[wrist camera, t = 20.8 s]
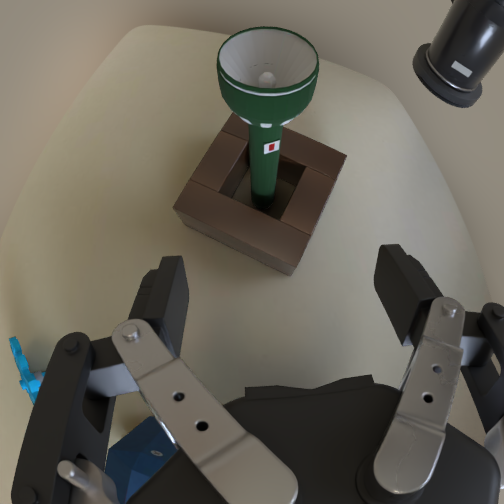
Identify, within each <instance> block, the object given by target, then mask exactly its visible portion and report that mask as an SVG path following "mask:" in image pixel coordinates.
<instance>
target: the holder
mask: <svg viewBox="0 0 504 504" xmlns="http://www.w3.org/2000/svg"><path fill="white" fill-rule="evenodd" d="M346 157H347V155H345V154H343V153H341V152H339V151H337V150H335V149H333V148H330V147H328V146H326V145H324V144H322V143H320V142H317V141H315V140H313V139H311V138H308V137H306V136H304V135H302V134H299V133H297V132H295V131H292V130H290V129H287V128H285V127H283V130H282V138H281V146H280V154H279V162H278V170H277V177H278V178H280V179H282V180H285V181H287V182H289V183H291V184H293V185H296V188H295V190H294V192H293V194H292V196H291V198H290V200H289V202H288V204H287V206H286V208H285V210H284V212H283V214H282V216H281V218H280V220H277V219H275V218H273V217H270V216H268V215H266V214H264V213H262V212H260V211H258V210H256V209H253V208H251V207H249V206H247V205H245V204H243V203H240V202H238V201H236V200H234V199H232V198H231V197H232V195H233V194H234V192H235V190H236V188H237V187H238V185H239V183H240V181H241V179H242V178H243V176H244V174H245V172H246V171H247V169H248V167H249V165H250V151H249V128H248V123H247V122H245V121H244V120H242V119H241V118H240V117H239V116H238V115H236V114H235V113H234V112H233V113H232V114H231V116H230V117H229V119H228V120H227V122H226V123H225V125H224V126H223V128H222V129H221V131H220V132H219V134H218V135H217V137H216V138H215V140H214V141H213V143H212V144H211V146H210V148H209V149H208V151H207V152H206V154H205V155H204V157H203V159H202V160H201V162H200V163H199V165H198V167H197V168H196V170H195V171H194V173H193V175H192V176H191V178H190V180H189V181H188V183H187V184H186V186H185V188H184V189H183V191H182V193H181V194H180V196H179V198H178V199H177V201H176V203H175V204H174V206H173V209H174V210H175V212H176V213H177V214H178V216H179V217H180V219H181V220H182V222H183V223H184V224H185V225H187V226H189V227H191V228H193V229H195V230H197V231H199V232H201V233H203V234H205V235H207V236H209V237H211V238H213V239H215V240H217V241H219V242H221V243H223V244H225V245H227V246H229V247H232V248H234V249H236V250H238V251H240V252H242V253H244V254H246V255H248V256H250V257H252V258H254V259H256V260H258V261H260V262H262V263H264V264H266V265H268V266H270V267H272V268H274V269H276V270H278V271H280V272H283V273H285V274H287V275H289V276H291V274H292V273H293V272H294V270H295V269H296V268H297V266H298V263H299V261H300V259H301V257H302V255H303V253H304V251H305V249H306V247H307V244H308V242H309V240H310V238H311V236H312V234H313V231H314V229H315V227H316V225H317V223H318V221H319V218H320V216H321V214H322V212H323V210H324V207H325V205H326V203H327V201H328V198H329V196H330V194H331V192H332V189H333V187H334V185H335V183H336V180H337V178H338V176H339V174H340V171H341V169H342V167H343V164H344V162H345V160H346Z"/></svg>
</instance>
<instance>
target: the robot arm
mask: <svg viewBox="0 0 504 504" xmlns="http://www.w3.org/2000/svg"><path fill="white" fill-rule="evenodd" d="M451 1H452V6H451V8H450V10H449V12H448V14H447V16H446V18H445V20H444V22H443V23H442V25H441V27H440V29H439V31H438V33H437V35H436V36H435V38H434V40H433V42H432V43H431V45H430V47H429V48H428V49H427V51H426V53H425V60H426V63H427V65H428V67H429V68H430V70H431V71H432V72H433V73H434V74H435V76H436V77H437V78H439V79H440V80H441V81H442V82H443V83H445V84H446V85H447V86H449V87H451V88H452V89H454V90H457V91H459V92H462V93H471V92H473V91H474V90H475V89H476V88H477V86H478V84H479V83H480V82H481V80H482V79H483V78H484V77H485V75H486V74H487V73H488V72H489V70H490V69H491V68H492V67H493V65H494V64H495V63H496V61H497V60H498V59H499V57H500V56H501V55H502V53H503V52H504V0H451ZM374 286H375V290H376V292H377V294H378V296H379V298H380V300H381V302H382V304H383V306H384V308H385V310H386V312H387V314H388V317H389V319H390V321H391V323H392V325H393V327H394V329H395V331H396V334H397V336H398V338H399V340H400V342H401V345H402V346H407V345H413V346H414V350H413V352H412V355H411V357H410V360H409V363H408V365H407V368H406V371H405V373H404V376H403V378H402V381H401V383H400V386H399V388H398V389H396V388H394V387H391V386H388V385H384V384H378V383H374V381H373V377H372V374H371V375H364V376H358V377H351V378H344V379H340V380H337V381H335V382H332V383H329V384H326V385H324V386H321V387H318V388H315V389H302V388H294V387H286V386H278V385H276V386H260V387H245V396H244V397H241V398H238V399H235V400H233V401H231V402H229V403H227V404H225V405H223V406H222V405H221V404H220V403H219V402H218V401H217V399H216V398H215V397H214V396H213V395H212V394H211V393H210V392H209V390H208V389H207V388H206V387H205V386H204V385H203V384H202V382H201V381H200V380H199V379H198V378H197V377H196V375H195V374H194V373H193V372H192V371H191V369H190V368H189V367H188V366H187V365H186V364H185V362H184V361H183V360H182V359H181V358H180V350H181V344H182V338H183V332H184V326H185V320H186V315H187V309H188V303H189V288H188V283H187V278H186V273H185V268H184V263H183V258H182V256H166V257H162V260H161V262H160V265H159V268H158V269H154V270H150V271H149V272H148V273H147V274H146V275H145V276H144V277H143V279H142V282H141V285H140V288H139V290H138V292H137V296H136V298H135V301H134V303H133V306H132V309H131V312H130V314H129V317H128V320H126V321H124V322H122V323H120V324H119V325H118V326H117V327H116V328H115V329H114V331H113V333H112V336H110V337H107V338H103V339H99V340H95V341H90V339H89V337H88V336H87V335H86V334H84V333H81V332H74V333H70V334H67V335H66V336H64V337H63V338H61V339H60V340H59V342H58V343H57V345H56V347H55V349H54V352H53V354H52V357H51V359H50V362H49V364H48V367H47V370H46V372H45V375H44V378H43V381H42V383H41V386H40V389H39V392H38V395H37V398H36V401H35V404H34V407H33V410H32V413H31V416H30V419H29V423H28V426H27V429H26V433H25V436H24V440H23V444H22V447H21V451H20V455H19V459H18V463H17V467H16V472H15V476H14V481H13V486H12V491H11V500H12V504H120V503H119V501H118V498H117V489H116V485H115V483H114V481H113V480H112V479H111V478H110V477H109V476H108V475H107V474H105V473H104V469H105V462H106V455H107V448H108V441H109V435H110V429H111V423H112V417H113V412H114V406H115V401H116V396H117V395H121V394H125V393H130V392H134V391H138V392H139V394H140V395H141V397H142V398H143V400H144V401H145V403H146V405H147V406H148V408H149V409H150V411H151V412H152V414H153V415H154V417H155V418H156V420H157V421H158V423H159V424H160V426H161V427H162V429H163V430H164V432H165V433H166V435H167V436H168V438H169V439H170V441H171V442H172V443H173V445H174V446H175V448H176V449H177V450H178V451H177V452H176V453H175V454H174V455H173V456H172V457H171V458H170V459H169V460H168V461H167V462H166V463H165V464H164V465H163V466H162V467H161V468H160V469H159V470H158V471H157V472H156V473H155V474H154V475H153V476H152V477H151V478H150V479H149V480H148V481H147V482H145V483H144V484H143V485H142V486H141V487H140V488H139V489H138V490H137V491H136V492H135V493H134V494H133V495H132V496H131V497H130V498H129V499H128V501H127V502H126V504H498V499H499V492H500V489H502V488H504V307H503V306H501V305H500V304H497V303H487V304H485V305H484V306H483V308H482V311H481V313H477V312H468V311H465V310H464V307H463V306H462V305H461V304H460V303H459V302H458V301H456V300H455V299H452V298H449V297H444V296H443V295H442V293H441V292H440V290H439V289H438V287H437V286H436V284H435V283H434V282H433V280H432V279H431V277H429V275H428V273H427V272H426V271H425V269H424V268H423V266H422V265H421V263H420V262H419V261H418V260H416V259H415V258H413V257H412V256H411V255H407V254H406V253H405V252H404V250H403V249H402V247H401V246H400V245H399V244H388V245H381V246H380V248H379V253H378V258H377V263H376V269H375V274H374ZM493 353H494V354H495V355H496V357H497V359H498V361H499V363H500V366H501V374H500V376H499V374H498V372H497V370H496V368H495V366H494V364H493V362H492V360H491V357H492V355H493ZM460 370H461V372H462V374H463V376H464V379H465V381H466V383H467V386H468V388H469V391H470V393H471V396H472V398H473V400H474V403H475V406H476V408H477V411H478V413H479V416H480V419H481V421H482V424H483V427H484V430H485V432H486V437H485V441H484V447H485V448H484V447H483V446H481V445H480V444H478V443H477V442H475V441H474V440H472V439H471V438H469V437H468V436H466V435H465V434H463V433H462V432H461V431H459V430H458V429H456V428H455V427H453V426H452V425H450V424H449V423H447V420H448V417H449V413H450V410H451V406H452V402H453V398H454V394H455V390H456V386H457V382H458V377H459V373H460Z"/></svg>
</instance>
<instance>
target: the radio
mask: <svg viewBox="0 0 504 504" xmlns="http://www.w3.org/2000/svg"><path fill="white" fill-rule="evenodd" d="M177 451H178V450H177V449H176V448H175V446H174V445H173V443H172V442H171V441H170V439H169V438H168V436H167V435H166V433H165V432H164V430H163V429H162V427H161V426H160V424H159V423H158V421H157V420H156V418H155V417H152V416H149V417H148V418H147V419H145V420H144V421H143V422H142V423H140V424H139V425H138V426H137V427H136V428H134V429H133V430H132V431H131V432H129V433H128V434H127V435H126V436H124V437H123V438H122V439H121V440H119V441H118V442H117V443H116V444H114V445H113V446H112V447H111V448H109V450H108V455H107V461H106V466H105V472H104V473H105V474H107V475H108V476H109V477H110V478H111V479H112V480H113V481H114V483H115V485H116V489H117V498H118V501H119V503H120V504H126V502H127V501H128V499H129V498H130V497H131V496H132V495H133V494H134V493H135V492H136V491H137V490H138V489H139V488H140V487H141V486H142V485H143V484H144V483H145V482H147V481H148V480H149V479H150V478H151V477H152V476H153V475H154V474H155V473H156V472H157V471H158V470H159V469H160V468H161V467H162V466H163V465H164V464H165V463H166V462H167V461H168V460H169V459H170V458H171V457H172V456H173V455H174V454H175V453H176V452H177Z"/></svg>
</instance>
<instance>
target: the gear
mask: <svg viewBox="0 0 504 504" xmlns="http://www.w3.org/2000/svg"><path fill="white" fill-rule="evenodd" d="M9 341H10V344H11V345H10V346H11V349H12V352H13V355H14V357H15V362H16V365H17V367H18V369H19V372H20V374H21V375H20V376H21V379H22V380H20V381H19V382H20V385H21V387H22V389H23V390H24V389H26V390H27V392H28V393H29V396H30V399H31V401H32V403H33V405H34V404H35V401H36V398H37V395H38V390H39V389H38V388H39V387H40V386H41V383H42V381H43V378H44V375H45V372H46V371H45V372H43V373H41V371H37V372H34V373H30V371H29V369H28V368H29V365H28V363H27V360H26V357H25V355H22V350H21V346H20V344H19V341H18V339H16V337H12V338H9Z"/></svg>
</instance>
